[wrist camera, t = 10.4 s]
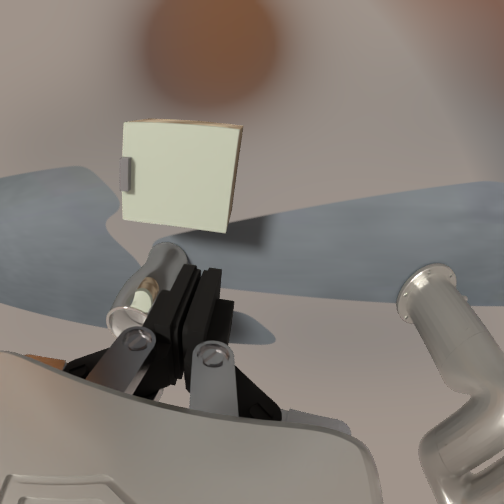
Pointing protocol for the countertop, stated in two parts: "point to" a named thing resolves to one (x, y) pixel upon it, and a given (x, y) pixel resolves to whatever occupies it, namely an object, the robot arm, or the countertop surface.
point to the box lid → (178, 174)
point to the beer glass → (145, 287)
